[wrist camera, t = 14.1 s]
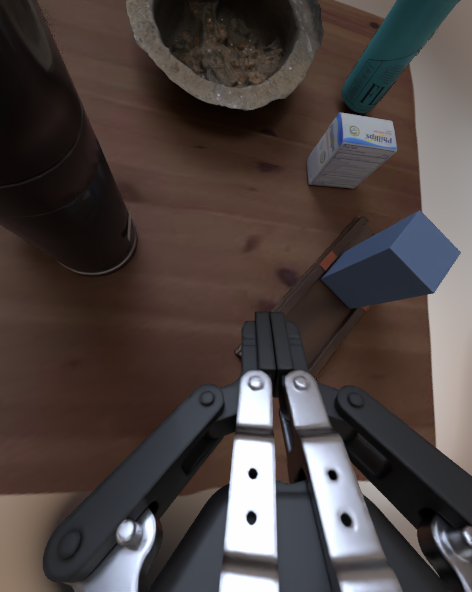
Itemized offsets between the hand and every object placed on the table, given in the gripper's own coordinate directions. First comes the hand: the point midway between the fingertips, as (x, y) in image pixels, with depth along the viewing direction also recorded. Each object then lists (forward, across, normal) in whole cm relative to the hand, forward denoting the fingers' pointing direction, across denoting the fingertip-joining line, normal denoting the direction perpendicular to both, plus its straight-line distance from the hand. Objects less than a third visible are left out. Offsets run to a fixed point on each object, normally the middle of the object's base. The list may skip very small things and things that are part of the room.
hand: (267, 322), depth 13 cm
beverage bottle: (+44, -18, -8) cm, 48 cm away
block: (+20, -14, +11) cm, 26 cm away
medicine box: (+33, -12, 0) cm, 35 cm away
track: (+17, -10, +13) cm, 24 cm away
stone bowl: (+42, +4, -12) cm, 44 cm away
